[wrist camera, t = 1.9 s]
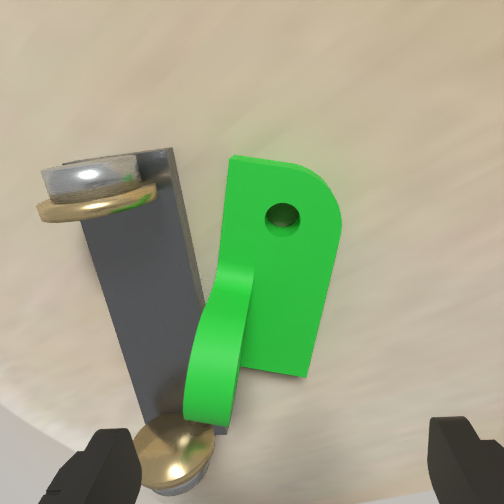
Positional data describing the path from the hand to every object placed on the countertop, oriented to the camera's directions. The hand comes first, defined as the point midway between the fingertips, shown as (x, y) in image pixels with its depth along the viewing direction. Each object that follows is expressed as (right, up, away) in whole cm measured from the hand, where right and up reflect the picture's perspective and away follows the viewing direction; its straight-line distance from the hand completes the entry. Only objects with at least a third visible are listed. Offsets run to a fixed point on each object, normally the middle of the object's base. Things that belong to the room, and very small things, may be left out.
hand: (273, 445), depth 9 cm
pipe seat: (-6, +2, +13) cm, 14 cm away
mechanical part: (+1, +4, +12) cm, 12 cm away
